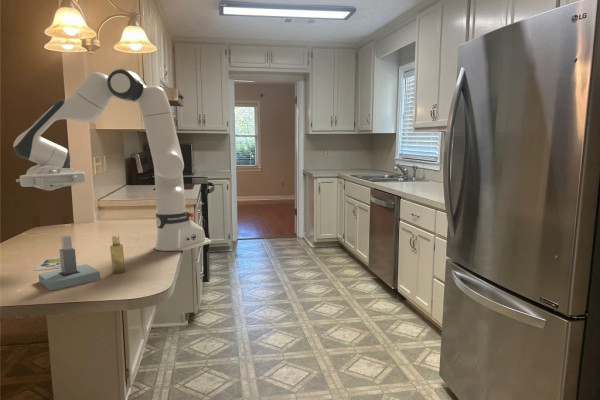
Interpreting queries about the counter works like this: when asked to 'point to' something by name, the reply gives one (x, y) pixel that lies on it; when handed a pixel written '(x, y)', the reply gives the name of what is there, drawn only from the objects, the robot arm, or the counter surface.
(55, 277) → the socket plate
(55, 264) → the handheld gaming device
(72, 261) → the square bit
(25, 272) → the counter surface
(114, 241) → the gold bottle
